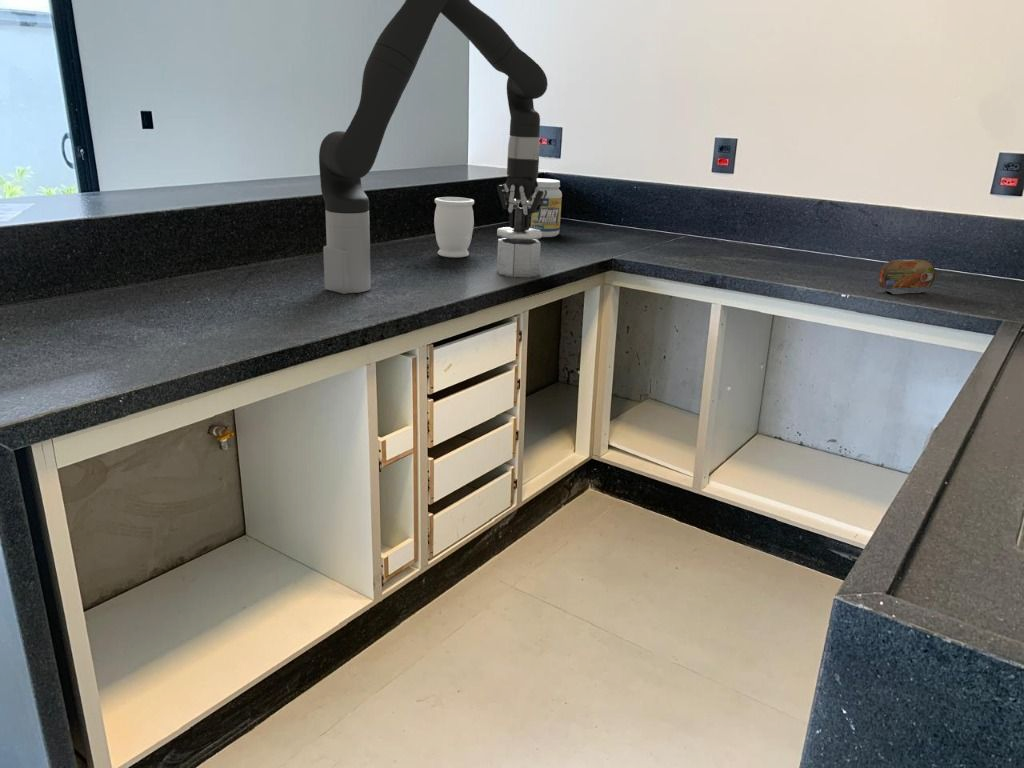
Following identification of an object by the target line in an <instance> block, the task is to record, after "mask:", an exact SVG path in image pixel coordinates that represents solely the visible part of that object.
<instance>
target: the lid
mask: <svg viewBox="0 0 1024 768" xmlns="http://www.w3.org/2000/svg"><path fill="white" fill-rule="evenodd" d="M523 215H524V213H523V206H522V207H520V206H519V207H515V211H514V228H510V226H505V227H504V226H503V227H498V228H497V231H496V236H498V237H499V238H508V239H517V240H533V239H535V240H539V239H541V238H543V237H542V231H540V230H537V229H533V228H529V230H522V219H523Z"/></svg>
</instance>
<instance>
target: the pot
mask: <svg viewBox="0 0 1024 768" xmlns="http://www.w3.org/2000/svg"><path fill="white" fill-rule="evenodd" d="M541 244H542V243H541V242H540V241H539V239H533V240H517V239H508V238H503V237H501V238H498V240H497V261H496V262H497V263H496V264H497V265H496V272H497V273H498V275H499V276H503V275H505V276H504V277H508V276H511V277H510V278H516V277H528V279H529V278H533V277H537V276H539V275H540V263H541V262H540V261H541V260H540V259H541V258H540V257H541Z"/></svg>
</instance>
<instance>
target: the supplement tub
mask: <svg viewBox="0 0 1024 768" xmlns="http://www.w3.org/2000/svg"><path fill="white" fill-rule="evenodd" d="M537 183H538V187H539V188H541V189H542V190H546V191H547V194H546V197H545V199H544V201H543V203H542V206H541V208H540V210H539V212H537V213H533V214H532V216H531V227H530V228H533V229H537V230H540V231H542V237H541V238H553V237H556V236H558V235H559V234H560V228H561V213H562V201H563V199H562V197H563V193H562V191H561V190H560V189H559V188H560V187H561V181H560V180H558V179H552V178H539V177H537ZM535 197H536V196H535V193H534V194H533V201H534V199H535ZM527 201H528V200H527Z"/></svg>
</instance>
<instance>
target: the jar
mask: <svg viewBox="0 0 1024 768" xmlns="http://www.w3.org/2000/svg"><path fill="white" fill-rule="evenodd" d="M434 203H435V204H436V205H435V206H436V207H435V210H434V219H433V220H434V221H433V225H434V232H435V239H436V244H437V246H438V247H439V250H438V251H437V254H438V255H439V256H441V257H444V258H452V259H453V258H455V259H456V258H457V259H458V258H459V259H460V258H466V257H468V256H469V255H470V253H469V250H468V249H469V247H470V245H471V242H472V236H473V233H474V226H475V221H474V220H475V219H474V216H475V215H474V209H473V205H474V204H475V200H474V199H473V198H468V197H460V196H441V197H436V198H434Z"/></svg>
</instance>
